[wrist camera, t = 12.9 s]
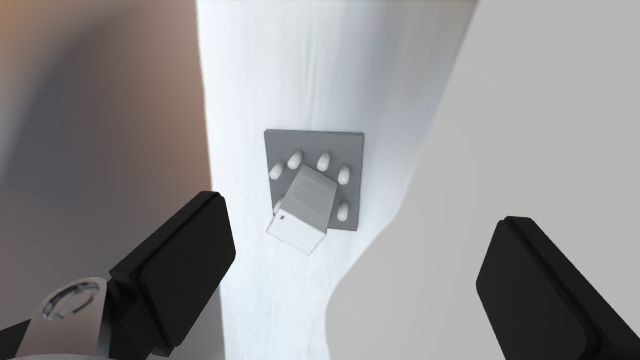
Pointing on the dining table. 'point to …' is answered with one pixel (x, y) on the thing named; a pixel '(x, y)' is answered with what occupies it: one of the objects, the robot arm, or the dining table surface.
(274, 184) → the peg board
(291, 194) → the skincare box
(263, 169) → the dining table surface
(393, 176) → the dining table surface
